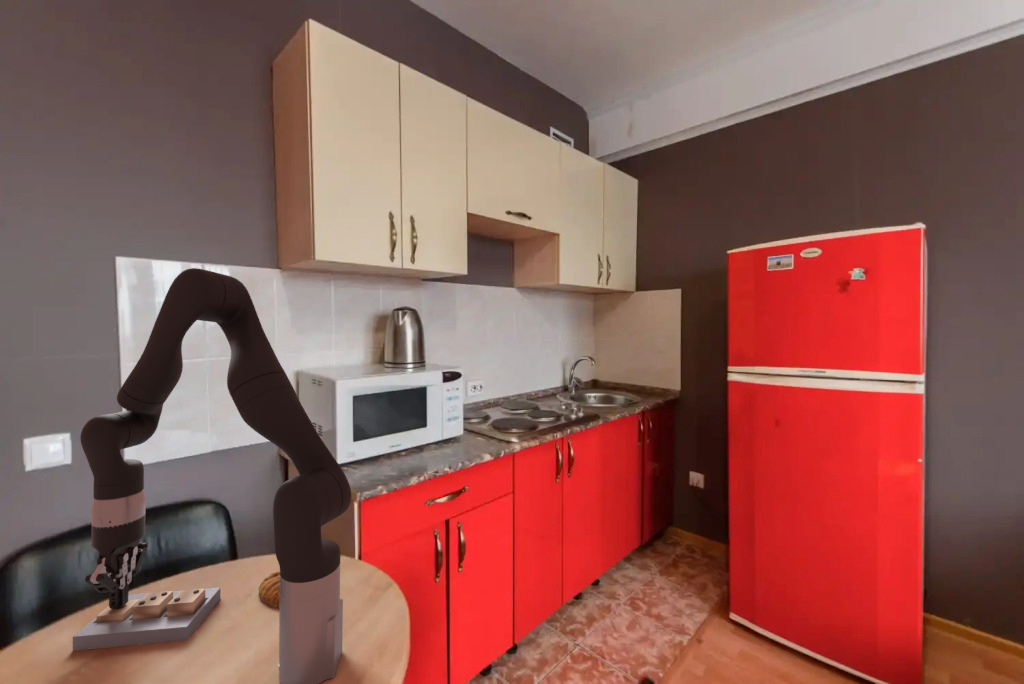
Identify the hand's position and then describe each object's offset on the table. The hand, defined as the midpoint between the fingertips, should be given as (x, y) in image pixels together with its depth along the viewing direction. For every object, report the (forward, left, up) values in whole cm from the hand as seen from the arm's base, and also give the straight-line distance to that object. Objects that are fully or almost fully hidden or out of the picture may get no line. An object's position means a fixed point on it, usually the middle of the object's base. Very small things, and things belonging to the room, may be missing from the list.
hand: (118, 606), depth 81 cm
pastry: (-27, -6, -4) cm, 28 cm away
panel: (-6, 0, -4) cm, 7 cm away
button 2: (-12, 0, -1) cm, 12 cm away
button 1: (0, 0, -3) cm, 3 cm away
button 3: (-6, 0, -2) cm, 6 cm away
